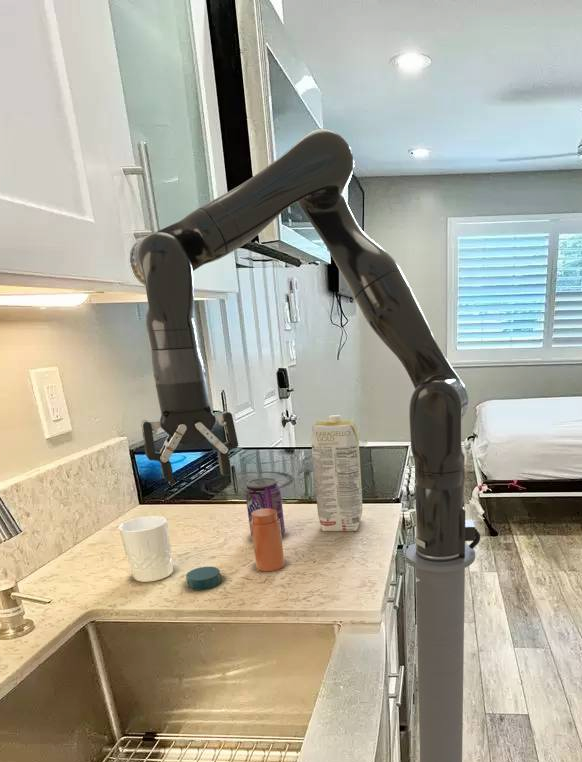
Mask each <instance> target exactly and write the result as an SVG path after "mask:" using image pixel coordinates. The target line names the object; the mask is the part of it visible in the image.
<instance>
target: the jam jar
mask: <svg viewBox="0 0 582 762" xmlns="http://www.w3.org/2000/svg"><path fill="white" fill-rule="evenodd" d="M251 514H252V520H251V522H250V524H251V531H252V536H251V537H252V547H253V551H254V552H253V553H254V559H255V566H256V567H255V568H256V569H257V570H258V571H261V572H274V571H277V570H278V571H279V570H280V569H282V568H283V567H285V565H286V563H285V554H284V544H283V537H282V536H283V535H281V528H280V519H279V518H278V517H277V513H276V510H275V509H271V508H264V509H258V510H255V511H253V512H252V513H251ZM250 524H249V525H250ZM251 531H250V532H251Z"/></svg>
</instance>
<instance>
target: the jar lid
mask: <svg viewBox="0 0 582 762" xmlns="http://www.w3.org/2000/svg"><path fill="white" fill-rule="evenodd" d="M185 580H186V585H187V587H188V588H189V589H190V590H195V591H201V590H202V591H203V590H209V589H212V588H214V587H217V586H218V585H219V584H221V582H222V574H221V572H220V569H219V568H218V567H216V566H201V567H200V566H199V567H196V568H194V569H191V570H190V571H188V572H187V573H186V575H185Z"/></svg>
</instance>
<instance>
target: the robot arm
mask: <svg viewBox="0 0 582 762" xmlns="http://www.w3.org/2000/svg"><path fill="white" fill-rule="evenodd" d="M354 163H355V160H354V154H353V151H352V148H351V147H350V144H349V143H348V141H346V140H345V138H344V137H343V136H342V135H340V134H339V133H338V132H336V131H333V130H331V129H326V128H318V129H314V130H312V131H309V132H308V133H307V134H305V135H304V136H303V137H302V138H300V139H299V140H298V141H297V142H296V143H294V144H293V145H292V146H291V147H290V148H289V149H287V151H286V152H285V153H283V154H282V155H281V156H279V157H278V158H277V159H276V160H274V161H273V162H271V163H270V164H269V165H267V166H265V167H264V168H263V169H262V170H260V171H259V172H258V173H256V174H254V175H253V176H252V177H251V178H249V179H247V180H246V181H244V182H243V183H241V184H239V185H238V186H236V187H234V188H233V189H231V190H229V191H227V192H226V193H223V194H221V195H220V196H218V197H216V198H215V199H211V201H209V202H207V203H205V204H203V205H201V206H200V207H198V208H196V209H194V210H192V211H191V212H190V213H189V214H187V215H186V216H184V217H183V218H182V219H180V220H179V221H176V222H175V223H172V224H170V225H168V226H166V227H164V228H162V229H159V230H157V231H155V232H153V233H150V234H148V235H146V236H144V237H142V238H140V239H139V240H137V241H136V242H134V244H133V245H132V247H131V248H130V251H129V254H130V263H131V267H132V270H133V273H134V275H135V276H134V275H133V276H134V278H135V277H136V278H137V279H138V280H137V279H136V278H135V279H136V280H137V281H138V282H139V283H140V284H142V285H143V286H145V292H146V300H147V310H146V312H145V328H146V334H147V339H148V343H149V349H150V356H151V368H152V373H153V379H154V384H155V389H156V393H157V399H158V404H159V409H160V410H159V411H160V419H159V420H147V419H143V420H142V421H141V422H140V423H141V424H140V425H141V432H142V438H143V446H144V453H145V457H146V458H147V459H148V460H149V461H156V462H159V464H160V468H161V474H162V478H163V480H164V481H165V482H168V484H169V485H170V486H172V485H176V483H175V477H174V473H173V468H172V462H171V461H170V458H171V456H172V455H173V453H174V452H175V450H176V448H177V447H178V445H182V446H187V445H190V444H200V443H201V444H203V443H204V442H205V441H206V440H207V441H208V442H209V443H210V444H211V445H213V446H214V447H215V449H217V450H218V451H217V458H218V465H219V471H220V474H221V476H223V477H225V476H228V472H231V463H230V457H229V452H230V451H232V450H233V449H237V448H238V447H239V440H238V436H237V431H236V426H235V422H234V417H233V414H232V413H231V412H229V411H227V410H223V411H222V412H219V413H213V412H212V408H211V403H210V397H209V396H210V395H209V390H208V384H207V383H208V382H207V377H206V376H207V372H206V370H205V365H204V360H203V357H202V355H201V354H202V353H201V351H200V347H199V346H200V345H199V340H198V333H197V327H196V323H195V322H196V321H195V318H194V303H195V302H194V301H195V297H194V293H195V292H194V288H195V287H194V286H195V285H194V271H196V270H197V269H199V268H201V267H202V266H204V265H206V264H209V263H213V262H216V261H218V260H220V259H223V258H224V257H226V256H228V255H229V254H231V253H233V252H235V251H236V250H238V249H241V247H243V246H245V245H246V244H247V243H249V242H250V241H252V240H253V239H254V238H256V237H257V236H258V235H260V233H262V232H263V231H264V230H265V229H266V228H267V227H268V226H269V225H271V223H272V222H273V221H275V220H276V219H277V218H278V217H279V216H280V215H281V214H282V213H284V212H285V211H286V210H287V209H289V208H290V207H291V206H293V205H294V204H295V203H297V205H298V206H299V208H300V209H301V211H302V213H303V214H304V216H305V217H306V218H307V221H309V223H310V224H311V226H312V227H313V229H314V230H315V232H316V233H317V234H318V236H319V237H320V239H321V240H322V242H323V243H324V245H325V247H326V249H327V250H328V252H329V254H330V256H331V257H332V260H333V261H334V263H335V265H336V267H337V268H338V270H339V272H340V274H341V276H342V277H343V280H344V281H345V283H346V284H347V287H348V288H349V290H350V292H351V295H352V296H353V299H354V301H355V303H356V304H357V306H358V308H359V310H360V312H361V313H362V315H363V317H364V319H365V320H366V322H367V324H368V325H369V326H370V328H371V329H372V331H373V332H374V333H375V335H377V337H378V338H379V339H380V340H381V342H383V344H384V345H385V346H386V347H387V348H388V349H389V350H390V351H391V352H392V353H393V354H394V356H395V357H397V359H398V360H399V361H400V363H401V365H402V366H403V367H404V370H405V371H406V373H407V375H408V377H409V379H410V381H411V383H412V386H413V387H414V390H413V392H412V395H411V397H410V400H409V407H408V408H409V412H408V413H409V435H410V436H409V437H410V450H411V455H412V457H413V460H414V486H415V487H414V489H415V491H414V492H415V493H414V494H415V533H416V534H415V536H413V542H414V543H413V544H415V543H416V554H417V555H418V556H419V557H420V558H422V559H425V560H429V561H436V562H444V561H452V560H455V559H458V558H465V543H466V542H470V544H468V545H469V547H470V548H471V549H475V547H476V546H477V545H479V543H480V541H481V534H480V532H479V531H478V529H477V528H476V524H475V522H474V519H466V508H465V487H466V486H465V480H466V477H465V475H466V454H465V452H464V450H463V446H462V445H463V444H462V420H463V418H464V417H465V416H466V414H467V412H468V410H469V403H470V401H469V393H468V391H467V389H466V387H465V384H464V383H463V381H462V380H461V379H460V377H459V375H458V374H457V373H456V371H455V370H454V368H453V367H452V365H451V364H450V362H449V361H448V359H447V357H446V356H445V355H444V353H443V351H442V350H441V348H440V346H439V345H438V343H437V341H436V339H435V337H434V335H433V332H432V331H431V328H430V326H429V324H428V321H427V319H426V317H425V315H424V313H423V311H422V309H421V307H420V305H419V302H418V301H417V299H416V297H415V295H414V293H413V291H412V287H410V285H409V282H408V281H407V279H406V277H405V275H404V273H403V271H402V269H401V267H400V266H399V264H398V263H397V261H396V260H395V258H394V257H392V255H391V254H390V253H389V252H387V251H386V250H385V249H384V248H383V247H381V246H380V245H379V244H378V243H376V242H375V241H374V240H373V239H371V238H370V237H369V236H368V235H367V234H366V233H365V232H364V231H363V230H362V228H361V227H360V226H359V223H358V222H357V220H356V219H355V217H354V215H353V213H352V211H351V208H350V207H349V205H348V203H347V200H346V198H345V195H344V193H345V191H346V189H347V188H348V186H349V183H350V181H351V178H352V175H353V171H354V167H355V164H354ZM133 273H132V274H133ZM216 422H218V423H219V425H220V426H221V427H223V428H224V432H225V438H226V441H225V442H222V441H221V440H220V439H219V438H218V437H217V436H216V435H215V434H214V433H213V432H212V429H213V428H214V426H215V424H216ZM160 428H161V429H162V430H163V431H164V432H165V433H166V434H167V437H166V439H165V440H164V442H163V444H162V445H163V446H162V448H161V449H160V451H156V449H155V441H154V436H156V435H157V434H158V430H159V429H160Z"/></svg>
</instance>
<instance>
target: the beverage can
mask: <svg viewBox="0 0 582 762" xmlns="http://www.w3.org/2000/svg"><path fill="white" fill-rule="evenodd" d="M245 485H246V488H245V491H244V493H245V501H246V508H247V509H246V510H247V516H248V522H249V523H248V524H249V531H250V536H251V537H252V531H251V524H250V522H251V520H252V514H251V513H252V512H253V511H255V510H258V509H264V508H271V509H275V510H276V513H277V517H278V518H279V519H280V528H281V536H283V535H284V534H285V533H286V527H285V526H286V525H285V518H284V510H283V500H282V492H281V487H280V485H279V484H278V480H277V479H276V478H274V477H259V478H258V477H257V478H253V479H250V480H248V481H247V482H246V484H245Z"/></svg>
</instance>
